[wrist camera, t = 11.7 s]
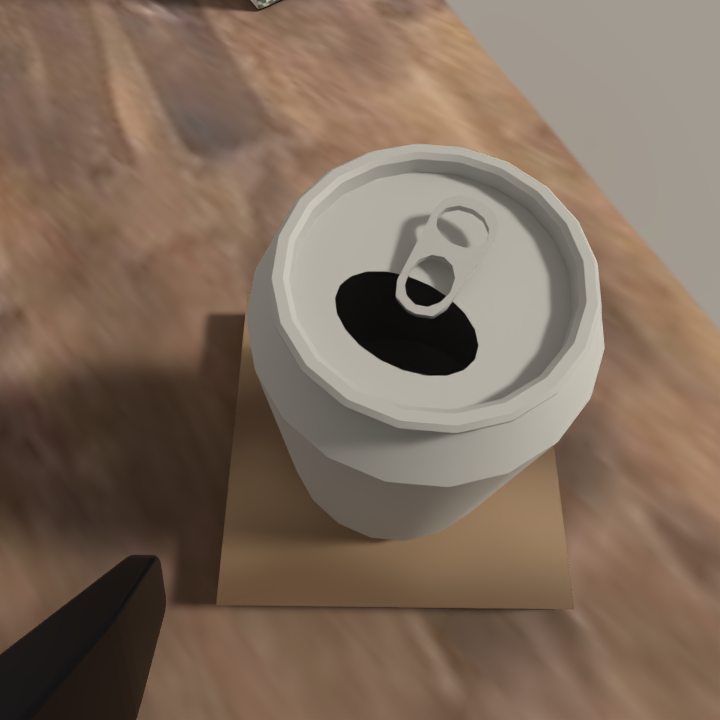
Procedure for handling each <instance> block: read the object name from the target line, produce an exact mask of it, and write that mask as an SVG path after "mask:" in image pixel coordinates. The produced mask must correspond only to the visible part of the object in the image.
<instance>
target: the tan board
mask: <svg viewBox="0 0 720 720" xmlns="http://www.w3.org/2000/svg"><path fill="white" fill-rule="evenodd" d="M250 294H251V292H248V293H247V303H246V313H245V323H244V333H243V343H242V353H241V363H240V373H239V383H238V393H237V403H236V413H235V423H234V433H233V443H232V453H231V462H230V472H229V482H228V492H227V502H226V512H225V522H224V532H223V542H222V552H221V562H220V572H219V582H218V592H217V602H216V605H254V606H339V607H424V608H508V609H574V604H573V596H572V588H571V580H570V572H569V564H568V556H567V548H566V540H565V532H564V524H563V516H562V508H561V500H560V492H559V484H558V475H557V467H556V459H555V451H554V445H553V446H552V447H551V448H549V449H548V450H547V451H546V452H544V453H543V454H542V455H541V456H539V457H538V458H537V459H536V460H534V461H533V462H532V463H531V464H529V465H528V466H527V467H526V468H524V469H523V470H522V471H521V472H520V473H518V474H517V475H516V476H515V477H513V478H512V479H511V480H510V481H508V482H507V483H506V484H505V485H503V486H502V487H501V488H500V489H498V490H497V491H496V492H495V493H493V494H492V495H491V496H490V497H488V498H487V499H486V500H485V501H483V502H482V503H481V504H480V505H478V506H477V507H476V508H475V509H473V510H472V511H471V512H470V513H468V514H467V515H466V516H464V517H462V518H461V519H459V520H458V521H456V522H455V523H453V524H452V525H450V526H449V527H447V528H445V529H444V530H442V531H441V532H439V533H435V534H431V535H427V536H423V537H419V538H415V539H411V540H407V541H403V540H392V539H381V538H370V537H368V536H366V535H364V534H361V533H359V532H357V531H355V530H352V529H350V528H348V527H345V526H343V525H341V524H339V523H338V522H336V521H335V520H334V519H333V518H332V517H331V516H330V515H329V514H328V513H326V512H325V511H324V510H323V509H322V508H321V507H320V506H319V505H318V504H317V503H315V502H314V501H313V499H312V498H311V496H310V494H309V492H308V490H307V489H306V487H305V485H304V483H303V482H302V480H301V478H300V476H299V474H298V473H297V471H296V468H295V466H294V463H293V461H292V459H291V456H290V454H289V451H288V449H287V446H286V444H285V442H284V439H283V437H282V434H281V432H280V429H279V427H278V425H277V422H276V420H275V417H274V415H273V412H272V410H271V408H270V405H269V403H268V400H267V398H266V395H265V393H264V391H263V388H262V386H261V383H260V381H259V378H258V376H257V374H256V371H255V367H254V362H253V356H252V350H251V344H250V339H249V333H248V327H247V321H246V316H247V311H248V305H249V300H250Z"/></svg>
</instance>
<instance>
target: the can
mask: <svg viewBox="0 0 720 720" xmlns="http://www.w3.org/2000/svg"><path fill="white" fill-rule="evenodd" d="M601 309H602V306H601V295H600V284H599V273H598V263H597V261H596V258H595V256H594V254H593V252H592V250H591V248H590V245H589V243H588V241H587V239H586V237H585V235H584V232H583V230H582V228H581V226H580V224H579V222H578V220H577V219H576V218H575V217H574V216H573V215H572V214H571V213H570V212H569V210H568V209H567V208H566V207H565V206H564V205H563V204H562V203H561V202H560V201H559V199H558V198H557V197H556V196H555V195H554V194H553V193H552V192H551V191H550V189H549V188H548V187H546V186H545V185H543V184H542V183H540V182H539V181H537V180H535V179H534V178H532V177H531V176H529V175H528V174H526V173H524V172H523V171H521V170H520V169H518V168H516V167H515V166H513V165H512V164H510V163H509V162H506V161H503V160H500V159H497V158H494V157H491V156H488V155H485V154H482V153H479V152H476V151H473V150H470V149H467V148H464V147H454V146H440V145H427V144H411V145H405V146H399V147H394V148H388V149H382V150H376V151H370V152H368V153H366V154H364V155H362V156H359V157H357V158H355V159H353V160H351V161H349V162H346V163H344V164H342V165H340V166H338V167H336V168H333V169H331V170H329V171H328V172H327V173H326V174H325V175H324V176H322V177H321V178H320V179H319V180H318V181H317V182H316V183H314V184H313V185H312V186H311V187H310V188H309V189H308V190H307V191H305V192H304V193H303V194H302V195H301V196H300V197H299V198H297V199H296V201H295V203H294V204H293V206H292V208H291V209H290V211H289V213H288V215H287V216H286V218H285V220H284V222H283V223H282V225H281V227H280V228H279V230H278V231H277V233H276V235H275V237H274V238H273V240H272V242H271V244H270V245H269V247H268V249H267V250H266V252H265V254H264V256H263V257H262V259H261V261H260V263H259V264H258V266H257V268H256V269H255V273H254V278H253V284H252V289H251V294H250V300H249V305H248V311H247V316H246V321H247V327H248V333H249V339H250V344H251V350H252V356H253V362H254V367H255V371H256V374H257V376H258V378H259V381H260V383H261V386H262V388H263V391H264V393H265V395H266V398H267V400H268V403H269V405H270V408H271V410H272V412H273V415H274V417H275V420H276V422H277V425H278V427H279V429H280V432H281V434H282V437H283V439H284V442H285V444H286V446H287V449H288V451H289V454H290V456H291V459H292V461H293V463H294V466H295V468H296V471H297V473H298V474H299V476H300V478H301V480H302V482H303V483H304V485H305V487H306V489H307V490H308V492H309V494H310V496H311V498H312V499H313V501H314V502H315V503H317V504H318V505H319V506H320V507H321V508H322V509H323V510H324V511H325V512H326V513H328V514H329V515H330V516H331V517H332V518H333V519H334V520H335V521H336V522H338V523H339V524H341V525H343V526H345V527H348V528H350V529H352V530H355V531H357V532H359V533H361V534H364V535H366V536H368V537H370V538H381V539H392V540H403V541H407V540H411V539H415V538H419V537H423V536H427V535H431V534H435V533H439V532H441V531H442V530H444V529H445V528H447V527H449V526H450V525H452V524H453V523H455V522H456V521H458V520H459V519H461V518H462V517H464V516H466V515H467V514H468V513H470V512H471V511H472V510H473V509H475V508H476V507H477V506H478V505H480V504H481V503H482V502H483V501H485V500H486V499H487V498H488V497H490V496H491V495H492V494H493V493H495V492H496V491H497V490H498V489H500V488H501V487H502V486H503V485H505V484H506V483H507V482H508V481H510V480H511V479H512V478H513V477H515V476H516V475H517V474H518V473H520V472H521V471H522V470H523V469H524V468H526V467H527V466H528V465H529V464H531V463H532V462H533V461H534V460H536V459H537V458H538V457H539V456H541V455H542V454H543V453H544V452H546V451H547V450H548V449H549V448H551V447H552V446H553V445H554V444H556V443H557V442H558V441H559V440H560V438H561V437H562V436H563V434H564V433H565V432H566V430H567V429H568V428H569V426H570V425H571V424H572V422H573V421H574V420H575V418H576V417H577V416H578V414H579V413H580V412H581V410H582V409H583V408H584V406H585V405H586V403H587V402H588V401H589V399H590V398H591V395H592V391H593V388H594V384H595V380H596V377H597V373H598V370H599V366H600V363H601V359H602V355H603V352H604V337H603V326H602V315H601Z"/></svg>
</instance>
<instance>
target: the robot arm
mask: <svg viewBox="0 0 720 720" xmlns="http://www.w3.org/2000/svg"><path fill="white" fill-rule="evenodd" d="M165 607H166V595H165V588H164V582H163V575H162V569H161V563H160V560H159V558H158V557H157V556H155V555H131V556H128V557H127V558H125V559H124V560H123V561H121V562H120V563H119V564H117V565H116V566H115V567H114V568H112V569H111V570H110V571H108V572H107V573H106V574H104V575H103V576H102V577H101V578H99V579H98V580H97V581H95V582H94V583H93V584H91V585H90V586H89V587H88V588H86V589H85V590H84V591H82V592H81V593H80V594H78V595H77V596H76V597H75V598H73V599H72V600H71V601H69V602H68V603H67V604H65V605H64V606H63V607H62V608H60V609H59V610H58V611H56V612H55V613H54V614H52V615H51V616H50V617H48V618H47V619H46V620H45V621H43V622H42V623H41V624H39V625H38V626H37V627H35V628H34V629H33V630H32V631H30V632H29V633H28V634H26V635H25V636H24V637H22V638H21V639H20V640H19V641H17V642H16V643H15V644H13V645H12V646H11V647H9V648H8V649H7V650H6V651H4V652H3V653H2V654H0V720H136V719H137V715H138V712H139V708H140V705H141V701H142V698H143V694H144V690H145V686H146V682H147V679H148V675H149V671H150V667H151V663H152V659H153V656H154V652H155V648H156V644H157V640H158V637H159V633H160V629H161V625H162V621H163V617H164V613H165Z"/></svg>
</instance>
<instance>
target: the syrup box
mask: <svg viewBox="0 0 720 720" xmlns="http://www.w3.org/2000/svg"><path fill="white" fill-rule="evenodd" d="M250 1H251V2H252V3H253V4H254V5H255V6H256V7H257V8H258V9H262V8H264V7H266V6H268V5H271V4H273V3H275V2H278V1H280V0H250Z"/></svg>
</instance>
